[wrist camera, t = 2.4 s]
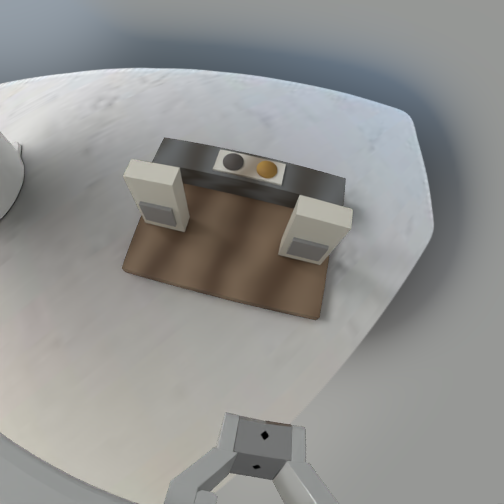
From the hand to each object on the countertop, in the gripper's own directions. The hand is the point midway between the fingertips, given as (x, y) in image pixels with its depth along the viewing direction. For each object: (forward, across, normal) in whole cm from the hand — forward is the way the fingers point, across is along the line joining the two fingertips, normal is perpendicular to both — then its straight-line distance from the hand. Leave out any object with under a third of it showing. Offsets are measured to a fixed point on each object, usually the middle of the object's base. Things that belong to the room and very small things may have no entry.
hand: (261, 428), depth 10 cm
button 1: (+27, -3, +4) cm, 27 cm away
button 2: (+27, +13, +4) cm, 30 cm away
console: (+29, +5, +3) cm, 30 cm away
